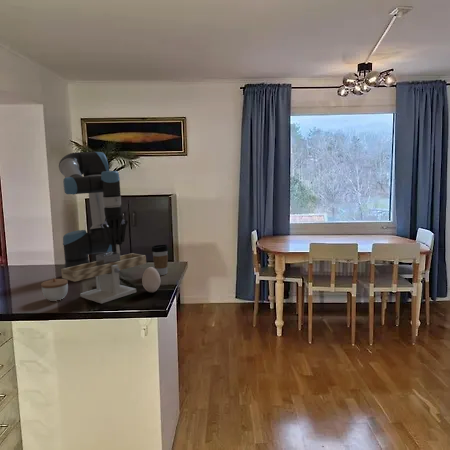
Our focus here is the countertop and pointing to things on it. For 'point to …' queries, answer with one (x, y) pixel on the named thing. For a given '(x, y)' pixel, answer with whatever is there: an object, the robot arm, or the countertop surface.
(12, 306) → the countertop surface
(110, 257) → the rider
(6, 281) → the countertop surface
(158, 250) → the coffee cup
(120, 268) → the beam
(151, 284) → the egg
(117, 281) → the stand
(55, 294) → the lidded jar
